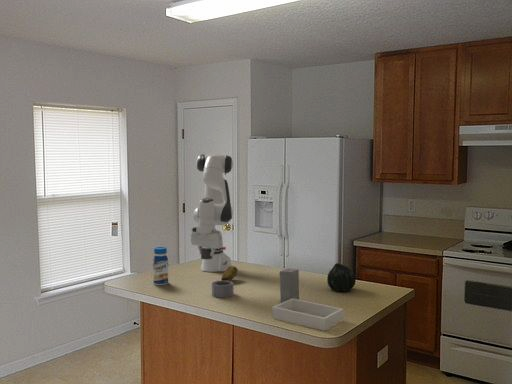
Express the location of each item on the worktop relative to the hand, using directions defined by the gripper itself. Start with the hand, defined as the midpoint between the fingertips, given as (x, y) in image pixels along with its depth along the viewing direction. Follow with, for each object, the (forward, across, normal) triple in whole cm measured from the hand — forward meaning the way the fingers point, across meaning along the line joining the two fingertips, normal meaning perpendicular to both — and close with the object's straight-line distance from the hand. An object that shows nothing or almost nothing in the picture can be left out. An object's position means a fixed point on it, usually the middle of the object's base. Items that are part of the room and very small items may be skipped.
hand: (206, 255), depth 261 cm
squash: (+18, -58, -41) cm, 73 cm away
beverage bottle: (+18, +27, +8) cm, 34 cm away
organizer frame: (+18, -69, +9) cm, 72 cm away
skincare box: (+18, -49, -7) cm, 52 cm away
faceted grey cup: (+18, -15, +4) cm, 24 cm away
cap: (+2, 0, 0) cm, 2 cm away
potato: (+18, 0, -18) cm, 26 cm away
